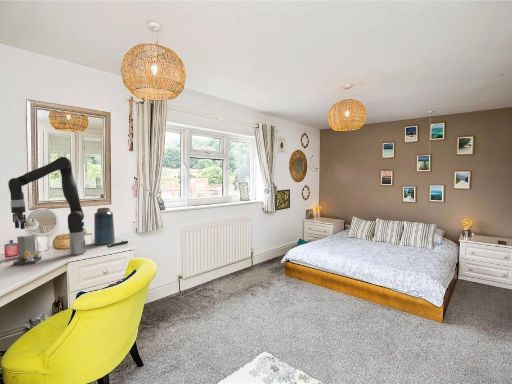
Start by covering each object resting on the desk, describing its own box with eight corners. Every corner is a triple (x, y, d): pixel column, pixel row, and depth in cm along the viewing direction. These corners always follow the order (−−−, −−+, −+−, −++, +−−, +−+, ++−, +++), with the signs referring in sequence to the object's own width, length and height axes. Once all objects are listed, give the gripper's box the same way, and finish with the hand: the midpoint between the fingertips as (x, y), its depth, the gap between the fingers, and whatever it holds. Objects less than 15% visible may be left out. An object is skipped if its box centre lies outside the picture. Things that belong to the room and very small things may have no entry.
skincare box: (25, 258, 195) (23, 237, 194) (17, 257, 196) (16, 236, 195) (36, 254, 203) (35, 234, 202) (29, 254, 205) (28, 234, 204)
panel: (42, 258, 193) (41, 250, 193) (33, 264, 182) (33, 255, 181) (22, 260, 190) (21, 251, 190) (12, 265, 178) (11, 256, 178)
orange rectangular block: (32, 257, 188) (32, 250, 188) (29, 259, 185) (29, 252, 184) (25, 258, 187) (24, 251, 186) (22, 260, 183) (21, 252, 183)
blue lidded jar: (97, 241, 245) (96, 207, 243) (117, 240, 249) (116, 207, 247) (91, 246, 229) (89, 209, 227) (112, 244, 233) (110, 209, 231)
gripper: (29, 205, 188) (31, 228, 189) (20, 205, 195) (22, 226, 196) (15, 207, 181) (17, 230, 183) (6, 206, 188) (8, 228, 189)
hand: (20, 228), depth 189 cm, fingers open, 8 cm apart
